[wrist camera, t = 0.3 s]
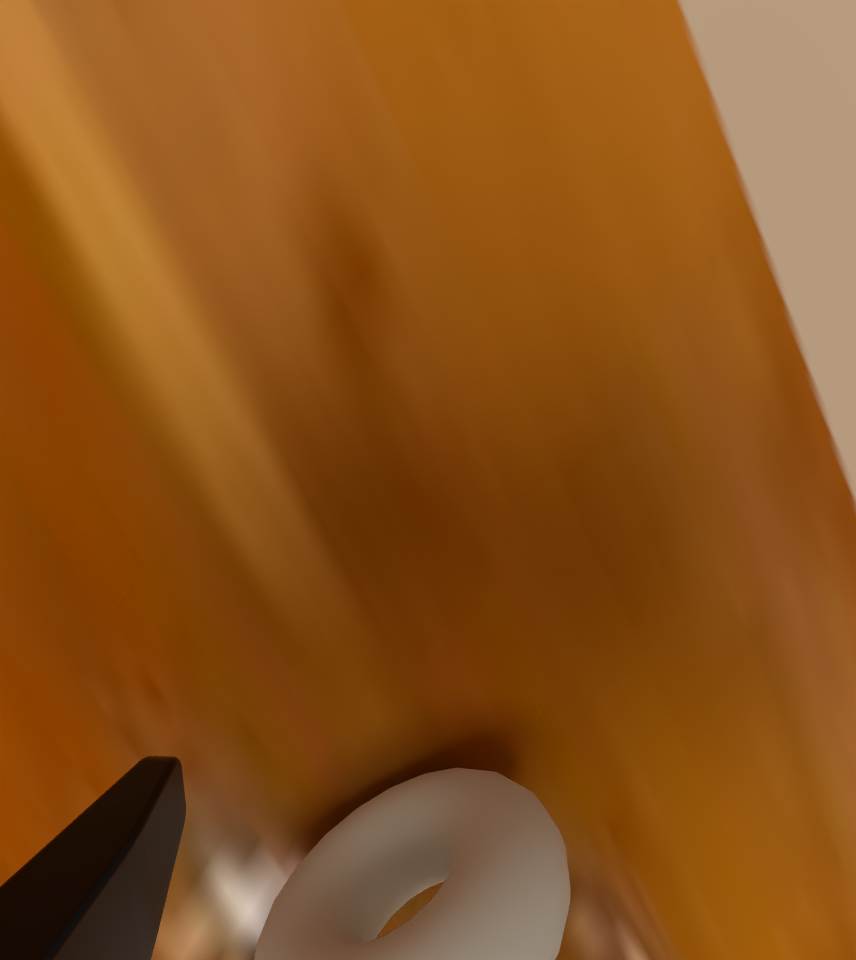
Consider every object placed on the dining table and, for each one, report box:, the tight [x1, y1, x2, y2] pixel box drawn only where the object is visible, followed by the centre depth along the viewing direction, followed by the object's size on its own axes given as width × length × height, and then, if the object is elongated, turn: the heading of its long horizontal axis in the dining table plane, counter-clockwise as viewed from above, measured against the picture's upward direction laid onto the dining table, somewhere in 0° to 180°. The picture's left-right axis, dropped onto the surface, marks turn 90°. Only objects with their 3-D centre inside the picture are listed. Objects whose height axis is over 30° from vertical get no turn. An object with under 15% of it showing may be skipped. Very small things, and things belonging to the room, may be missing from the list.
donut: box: [254, 768, 570, 960], centre depth 21 cm, size 10×4×10 cm, turn 118°
